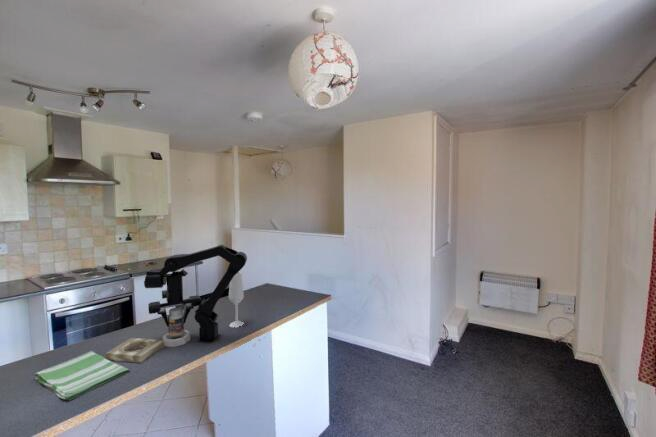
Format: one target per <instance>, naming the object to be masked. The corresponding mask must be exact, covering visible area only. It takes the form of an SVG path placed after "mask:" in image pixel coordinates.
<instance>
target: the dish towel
mask: <svg viewBox="0 0 656 437" xmlns="http://www.w3.org/2000/svg"><path fill="white" fill-rule="evenodd" d="M130 372H131V370H130V369H129V368H127V367H125V366H122V365H121V364H119V363H115V362H113V361H112V360H107V359H106V357H104V356H102V355H100V354H98V353H96V352H95V351H94V350H90V351H88V352H85V353H83V354H80V355H79V356H76V357H74V358H70V359H69V360H66V361H63V362H61V363H59V364H57V365H56V364H55V365H54V366H50V367H48V368H45V369H43V370H40V371H37V372H35V373H34V378H33V379H34V380H36V381H37V382H38V383H40V385H43V386H44V387H46V388H47V389H49V390H50V391H51V392H53V393H54V394H55V395H56V396H57V397H59V399H62V400H68V401H72V400H73V399H76V398H78V397H80V396H83V395H84V394H86V393H89V392H91V391H93V390H94V389H96V388H99V387H100V386H103V385H105V384H107V383H109V382H111V381H113V380H116V379H119V378H121V377H123V376H126V375H127V374H129V373H130Z"/></svg>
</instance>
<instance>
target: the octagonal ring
mask: <svg viewBox="0 0 656 437" xmlns="http://www.w3.org/2000/svg"><path fill="white" fill-rule="evenodd" d="M178 337H179V338H178ZM162 340H164V347H169V348H176V347H178V346H182V345H186V344H187V343H188V342H190V341H191V332H190V331H189V330H188V329H184V332H183V333H182V334H180V335H177V336H171V335H169V333H168V332H167V333H166V334H164V335H162Z"/></svg>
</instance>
